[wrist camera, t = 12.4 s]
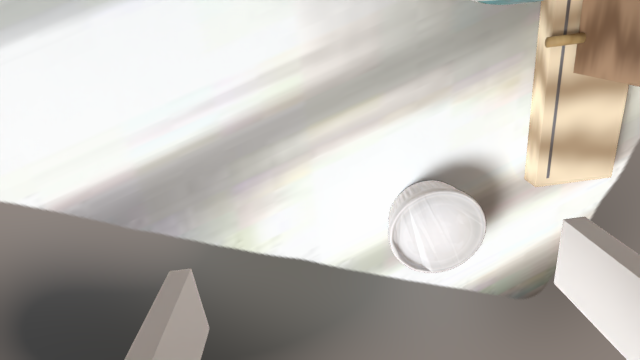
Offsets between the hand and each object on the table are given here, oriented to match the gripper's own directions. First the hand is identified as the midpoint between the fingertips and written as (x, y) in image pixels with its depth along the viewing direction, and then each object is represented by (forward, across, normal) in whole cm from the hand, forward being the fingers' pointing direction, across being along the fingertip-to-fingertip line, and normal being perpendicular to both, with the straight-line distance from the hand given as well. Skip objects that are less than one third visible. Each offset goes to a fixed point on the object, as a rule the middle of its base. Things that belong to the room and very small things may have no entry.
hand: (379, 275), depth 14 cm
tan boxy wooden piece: (+29, +26, +3) cm, 39 cm away
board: (+32, +28, -1) cm, 42 cm away
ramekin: (+32, +11, -16) cm, 37 cm away
